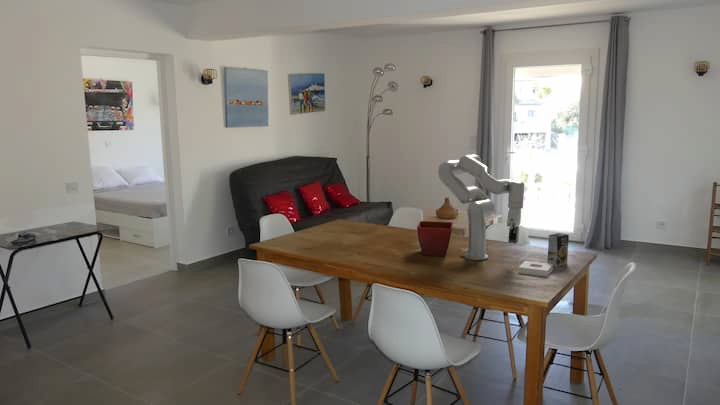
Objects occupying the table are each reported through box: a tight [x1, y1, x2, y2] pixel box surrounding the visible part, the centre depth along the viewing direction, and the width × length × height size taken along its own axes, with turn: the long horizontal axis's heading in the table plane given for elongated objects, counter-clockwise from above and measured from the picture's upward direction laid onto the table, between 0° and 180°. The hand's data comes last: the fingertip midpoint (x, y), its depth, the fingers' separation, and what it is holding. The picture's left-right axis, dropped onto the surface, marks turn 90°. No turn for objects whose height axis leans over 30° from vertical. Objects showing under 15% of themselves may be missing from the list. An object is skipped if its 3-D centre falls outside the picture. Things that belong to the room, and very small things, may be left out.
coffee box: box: [546, 232, 570, 268], centre depth 293 cm, size 9×6×16 cm
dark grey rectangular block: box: [508, 226, 520, 244], centre depth 291 cm, size 4×4×8 cm
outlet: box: [517, 260, 554, 277], centre depth 281 cm, size 14×14×3 cm
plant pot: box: [416, 220, 454, 257], centre depth 318 cm, size 19×19×17 cm
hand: (513, 238), depth 292 cm, fingers closed on dark grey rectangular block, 4 cm apart
